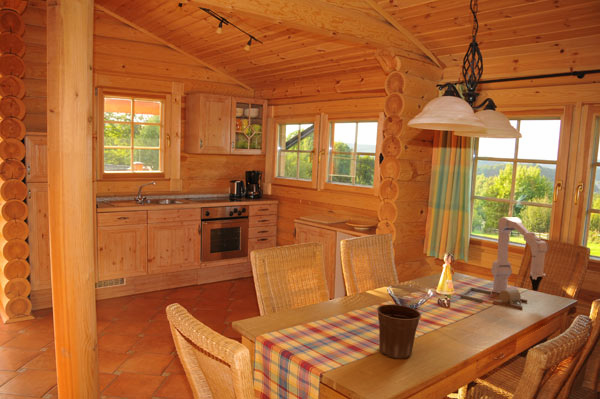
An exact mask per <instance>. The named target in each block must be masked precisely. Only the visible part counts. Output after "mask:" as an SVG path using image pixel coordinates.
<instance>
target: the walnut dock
mask: <svg viewBox="0 0 600 399" xmlns="http://www.w3.org/2000/svg"><path fill="white" fill-rule="evenodd" d="M520 301H521V303H524V304H527V303H528V299H525V298H521V299H520ZM492 304H494V305H498V306H504V307H508V308H511V309H516V310H523V309H524V308H523V306H522V305H521V306H518V305H519V304H518V305H514V304H511V303H504V302H502V301H501V300H500V301H499V300H494V299H493V300H492Z"/></svg>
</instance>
